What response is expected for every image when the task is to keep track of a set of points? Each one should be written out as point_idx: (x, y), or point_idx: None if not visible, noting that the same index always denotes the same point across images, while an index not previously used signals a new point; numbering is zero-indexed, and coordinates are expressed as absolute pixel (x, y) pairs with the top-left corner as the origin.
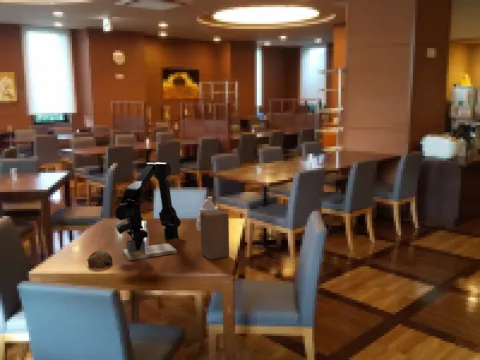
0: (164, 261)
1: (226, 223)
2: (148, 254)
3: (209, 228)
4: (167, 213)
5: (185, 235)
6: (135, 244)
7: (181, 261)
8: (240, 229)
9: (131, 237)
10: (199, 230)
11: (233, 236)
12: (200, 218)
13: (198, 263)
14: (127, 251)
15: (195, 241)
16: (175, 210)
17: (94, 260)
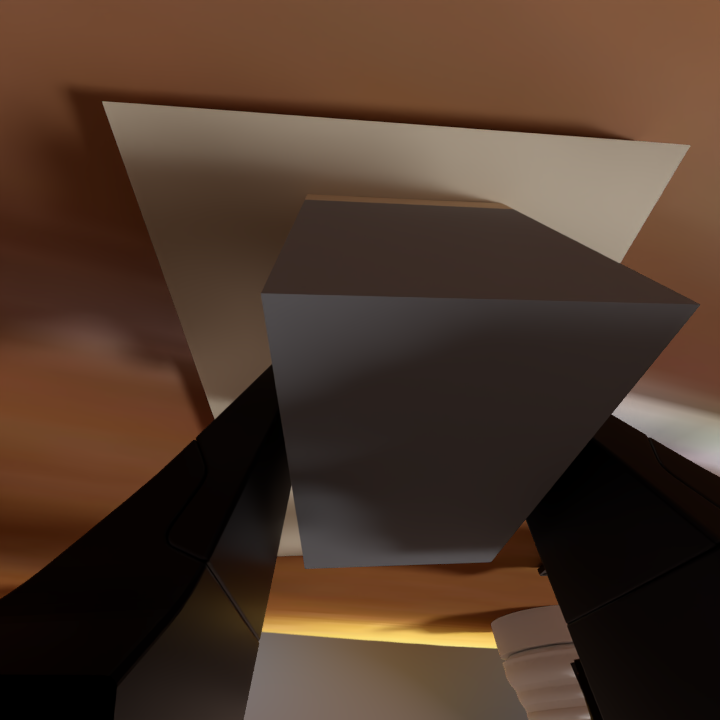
0: (58, 457)
1: None
2: (214, 413)
3: None
4: None
5: (546, 581)
6: (252, 421)
7: (56, 522)
8: (446, 645)
9: (688, 516)
10: (546, 611)
11: (389, 636)
12: (576, 691)
13: (9, 560)
14: (497, 203)
15: (422, 589)
16: None
17: None
